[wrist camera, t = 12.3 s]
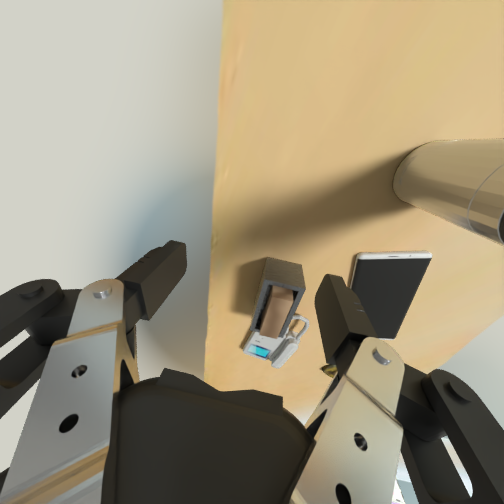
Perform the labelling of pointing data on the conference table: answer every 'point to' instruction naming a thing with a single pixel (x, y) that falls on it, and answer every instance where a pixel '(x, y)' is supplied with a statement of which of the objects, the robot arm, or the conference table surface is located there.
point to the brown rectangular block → (275, 311)
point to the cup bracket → (282, 277)
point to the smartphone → (388, 286)
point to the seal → (330, 370)
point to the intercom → (275, 345)
